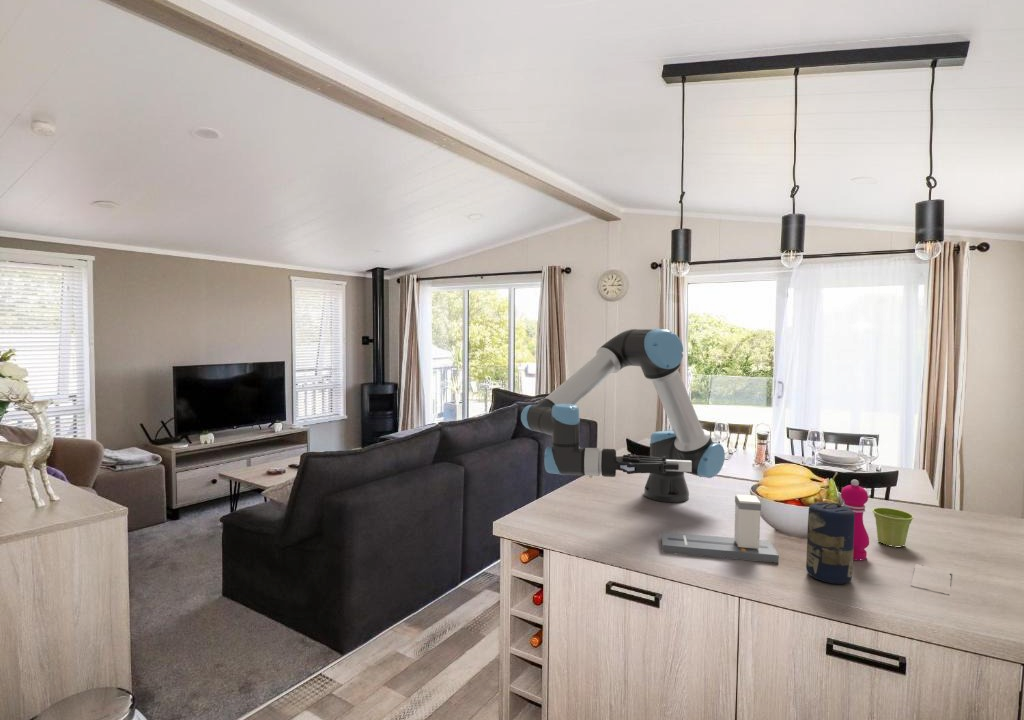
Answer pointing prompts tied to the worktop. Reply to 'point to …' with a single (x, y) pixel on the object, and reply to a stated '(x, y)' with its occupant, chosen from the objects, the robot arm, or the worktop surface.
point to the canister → (830, 542)
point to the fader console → (716, 547)
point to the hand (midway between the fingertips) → (691, 466)
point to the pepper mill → (857, 516)
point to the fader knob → (747, 521)
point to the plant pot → (892, 525)
